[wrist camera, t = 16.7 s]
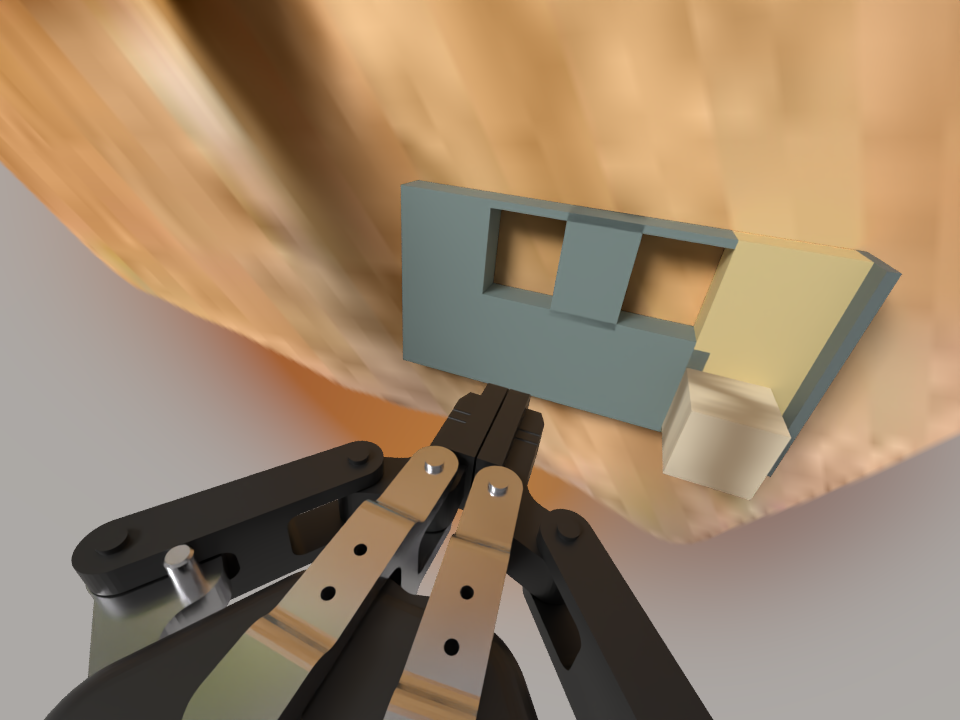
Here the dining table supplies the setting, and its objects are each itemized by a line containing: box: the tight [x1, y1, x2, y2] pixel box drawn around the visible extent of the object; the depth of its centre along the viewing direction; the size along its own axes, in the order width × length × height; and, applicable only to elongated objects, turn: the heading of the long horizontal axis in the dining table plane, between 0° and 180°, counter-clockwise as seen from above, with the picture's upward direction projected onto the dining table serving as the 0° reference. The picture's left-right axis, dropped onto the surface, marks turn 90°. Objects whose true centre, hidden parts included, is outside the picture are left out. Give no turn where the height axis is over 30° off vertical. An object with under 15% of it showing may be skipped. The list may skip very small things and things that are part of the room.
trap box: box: [401, 180, 902, 477], centre depth 29 cm, size 28×14×4 cm, turn 85°
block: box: [662, 368, 791, 500], centre depth 26 cm, size 5×5×5 cm
